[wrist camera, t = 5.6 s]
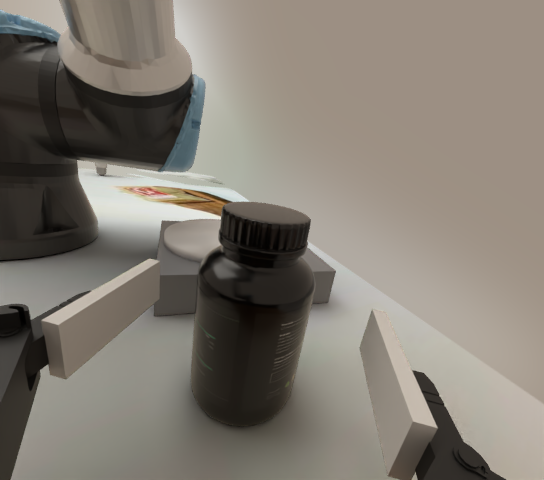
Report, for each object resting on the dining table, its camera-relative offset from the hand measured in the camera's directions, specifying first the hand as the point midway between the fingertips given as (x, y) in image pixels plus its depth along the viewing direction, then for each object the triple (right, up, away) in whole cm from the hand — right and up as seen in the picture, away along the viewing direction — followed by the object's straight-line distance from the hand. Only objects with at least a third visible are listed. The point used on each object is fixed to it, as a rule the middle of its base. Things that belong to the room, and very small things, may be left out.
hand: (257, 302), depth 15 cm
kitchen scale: (-4, 0, +17) cm, 18 cm away
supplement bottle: (-1, -6, +2) cm, 7 cm away
